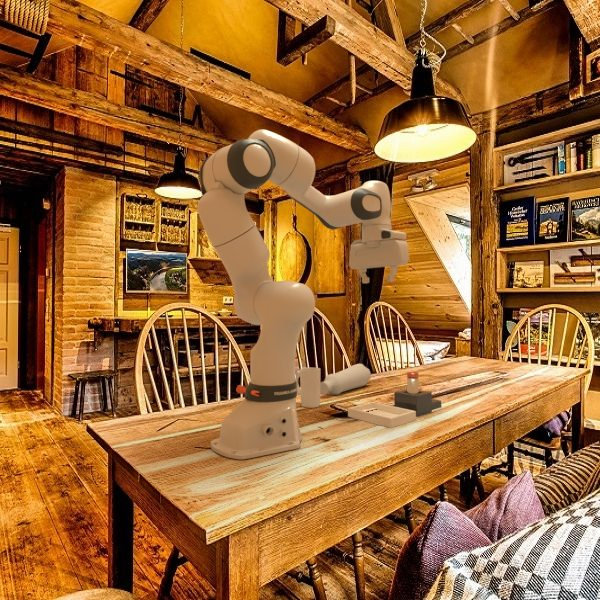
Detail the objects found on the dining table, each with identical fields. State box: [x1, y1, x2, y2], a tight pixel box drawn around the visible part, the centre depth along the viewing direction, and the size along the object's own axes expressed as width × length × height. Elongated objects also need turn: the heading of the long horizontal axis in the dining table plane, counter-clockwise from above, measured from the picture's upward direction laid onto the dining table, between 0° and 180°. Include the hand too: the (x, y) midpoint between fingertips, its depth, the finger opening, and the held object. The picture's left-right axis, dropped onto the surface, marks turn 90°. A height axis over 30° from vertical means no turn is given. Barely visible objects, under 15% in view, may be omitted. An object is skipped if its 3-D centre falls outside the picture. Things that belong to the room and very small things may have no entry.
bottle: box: [320, 363, 372, 396], centre depth 160 cm, size 9×9×30 cm
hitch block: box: [393, 388, 442, 418], centre depth 132 cm, size 16×8×6 cm, turn 131°
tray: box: [347, 401, 417, 429], centre depth 122 cm, size 12×16×2 cm
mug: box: [295, 367, 321, 409], centre depth 139 cm, size 10×7×12 cm, turn 47°
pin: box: [406, 371, 420, 394], centre depth 129 cm, size 3×3×12 cm
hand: (377, 282), depth 126 cm, fingers open, 8 cm apart
